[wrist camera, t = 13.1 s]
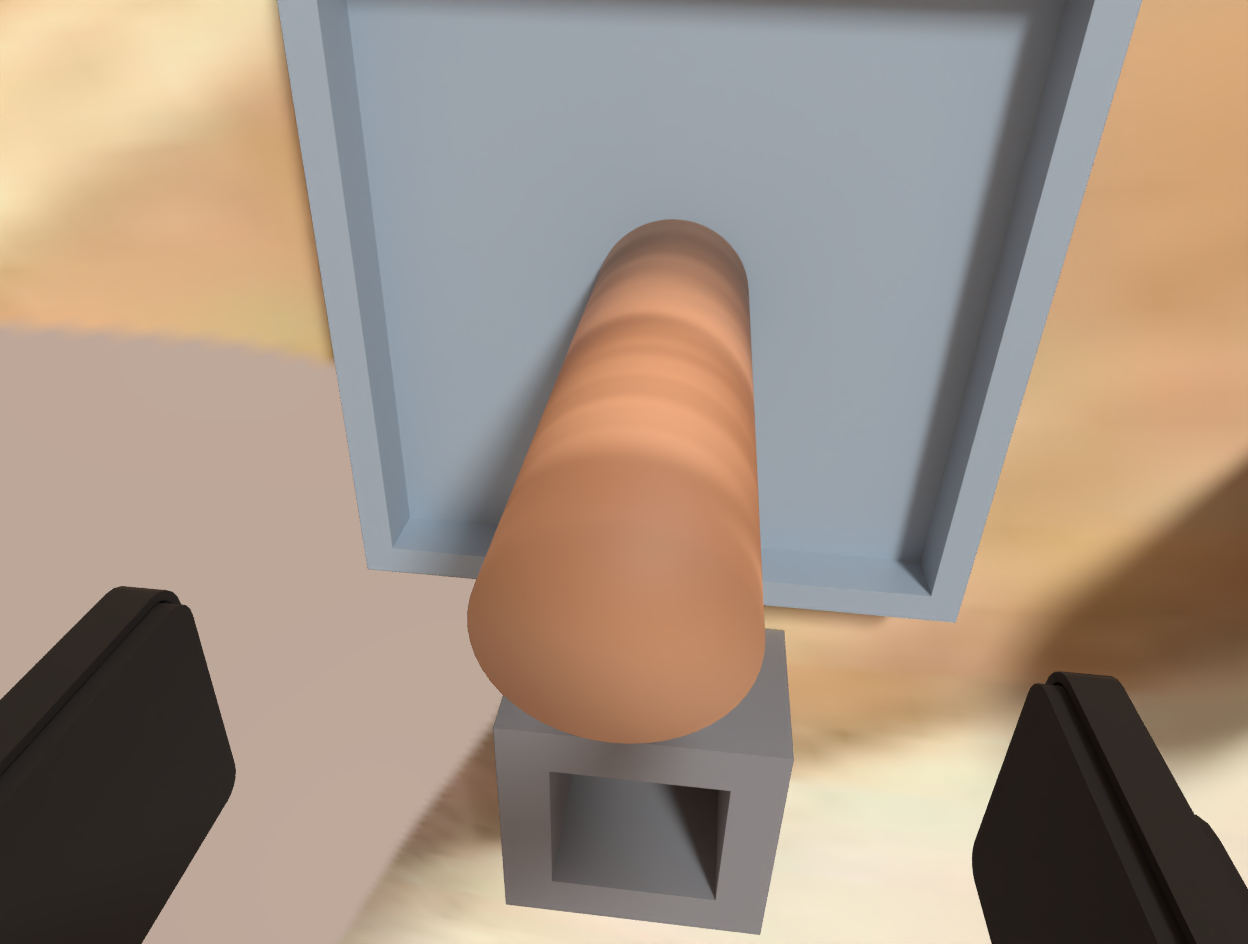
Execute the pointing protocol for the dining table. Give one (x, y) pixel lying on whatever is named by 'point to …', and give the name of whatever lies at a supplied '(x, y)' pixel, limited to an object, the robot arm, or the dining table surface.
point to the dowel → (636, 508)
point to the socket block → (649, 813)
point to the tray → (724, 202)
